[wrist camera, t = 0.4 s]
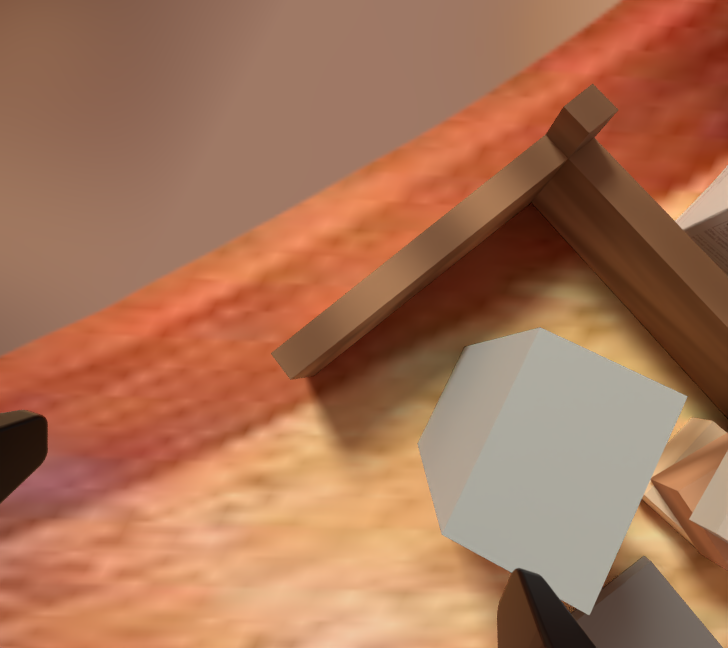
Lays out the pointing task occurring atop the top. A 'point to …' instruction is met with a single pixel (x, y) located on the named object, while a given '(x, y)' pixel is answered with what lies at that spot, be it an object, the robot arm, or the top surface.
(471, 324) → the top surface
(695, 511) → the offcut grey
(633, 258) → the frame
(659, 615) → the mat
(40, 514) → the top surface
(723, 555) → the offcut cherry
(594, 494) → the block
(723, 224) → the supplement box
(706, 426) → the offcut birch
